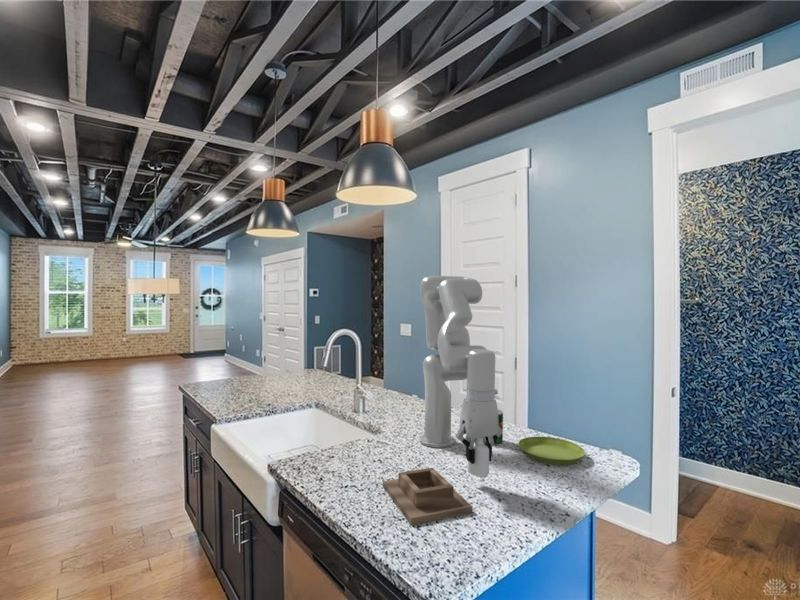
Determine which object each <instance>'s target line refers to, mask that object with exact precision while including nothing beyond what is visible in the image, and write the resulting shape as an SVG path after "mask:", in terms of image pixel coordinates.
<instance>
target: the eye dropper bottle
mask: <svg viewBox="0 0 800 600" xmlns="http://www.w3.org/2000/svg"><path fill="white" fill-rule="evenodd" d="M473 449H475V463H474V464H471V463H470V462H469V461H468V460H467V472H468V474H469V475H470V474H471V475H473V476H476V477H478V478H487V477H488V475H490V461H489V448H488V447H487V446H486V445H484V443H483V437H481V438H475V442H474V446H473Z"/></svg>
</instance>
